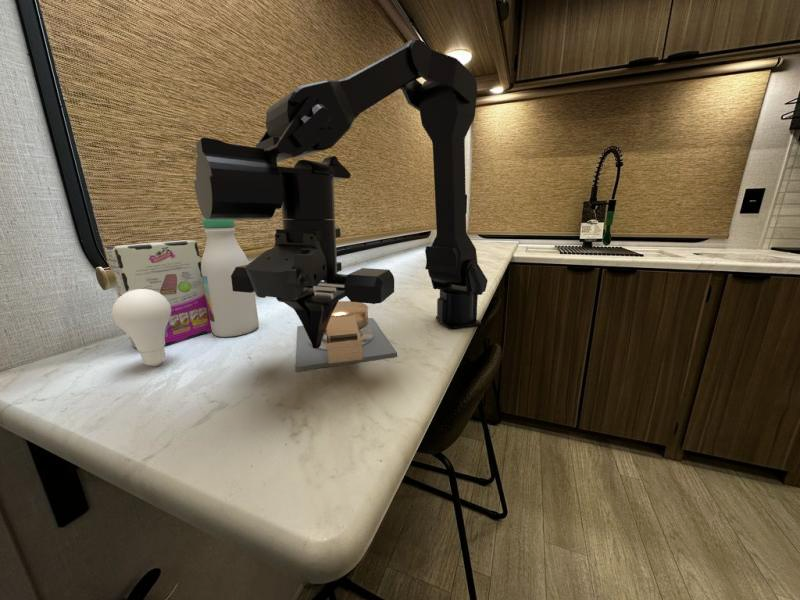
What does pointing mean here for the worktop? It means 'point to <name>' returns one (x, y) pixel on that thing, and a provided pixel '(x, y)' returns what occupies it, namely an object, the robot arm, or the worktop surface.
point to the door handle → (346, 331)
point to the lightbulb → (144, 322)
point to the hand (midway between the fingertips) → (317, 347)
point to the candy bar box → (165, 282)
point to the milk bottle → (225, 282)
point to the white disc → (364, 333)
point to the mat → (371, 351)
